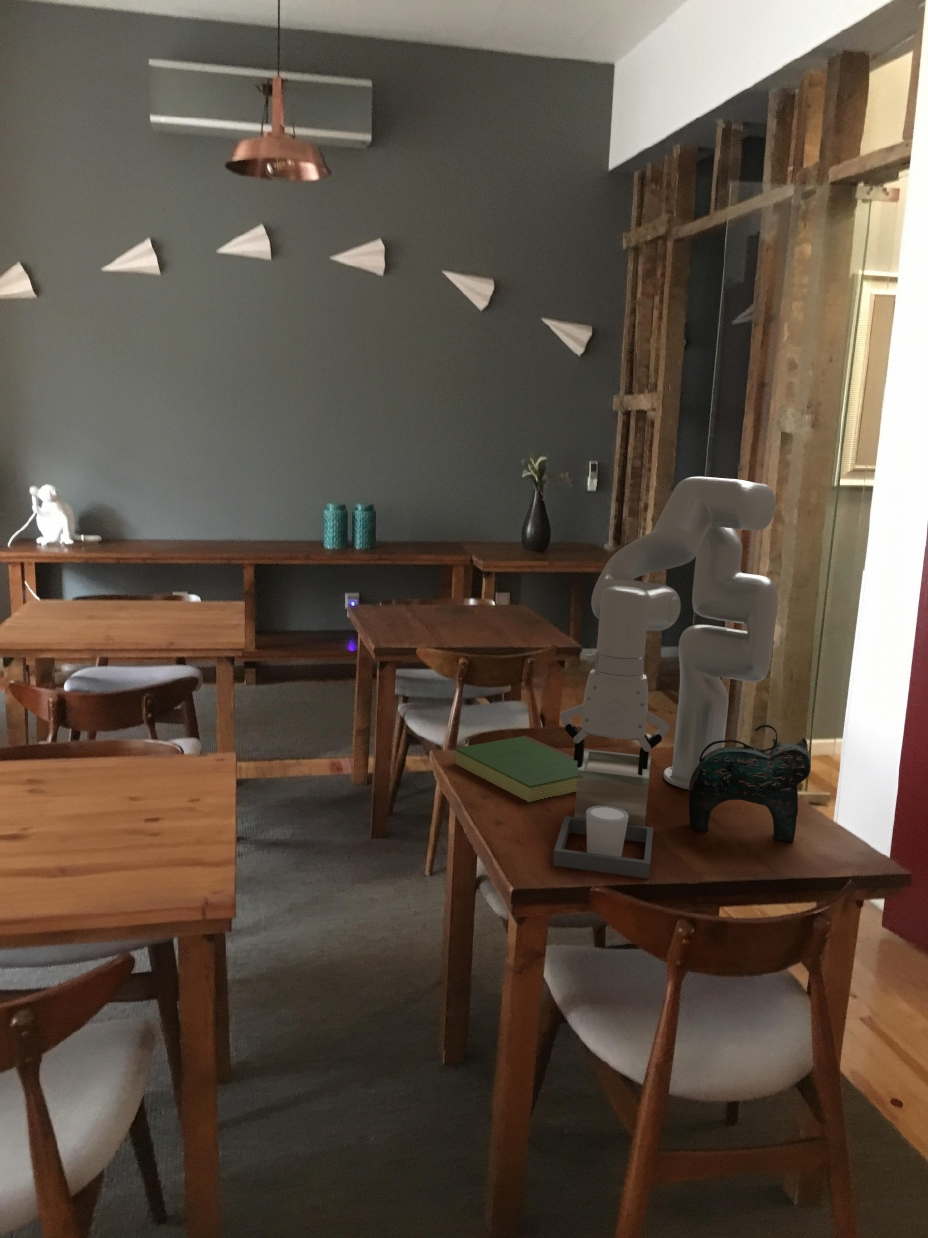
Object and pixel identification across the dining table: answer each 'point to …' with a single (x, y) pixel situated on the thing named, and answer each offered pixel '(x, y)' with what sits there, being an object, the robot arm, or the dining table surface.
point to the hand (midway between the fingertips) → (609, 769)
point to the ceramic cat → (751, 781)
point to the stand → (612, 784)
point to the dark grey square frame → (598, 860)
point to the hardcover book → (521, 767)
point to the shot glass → (606, 830)
